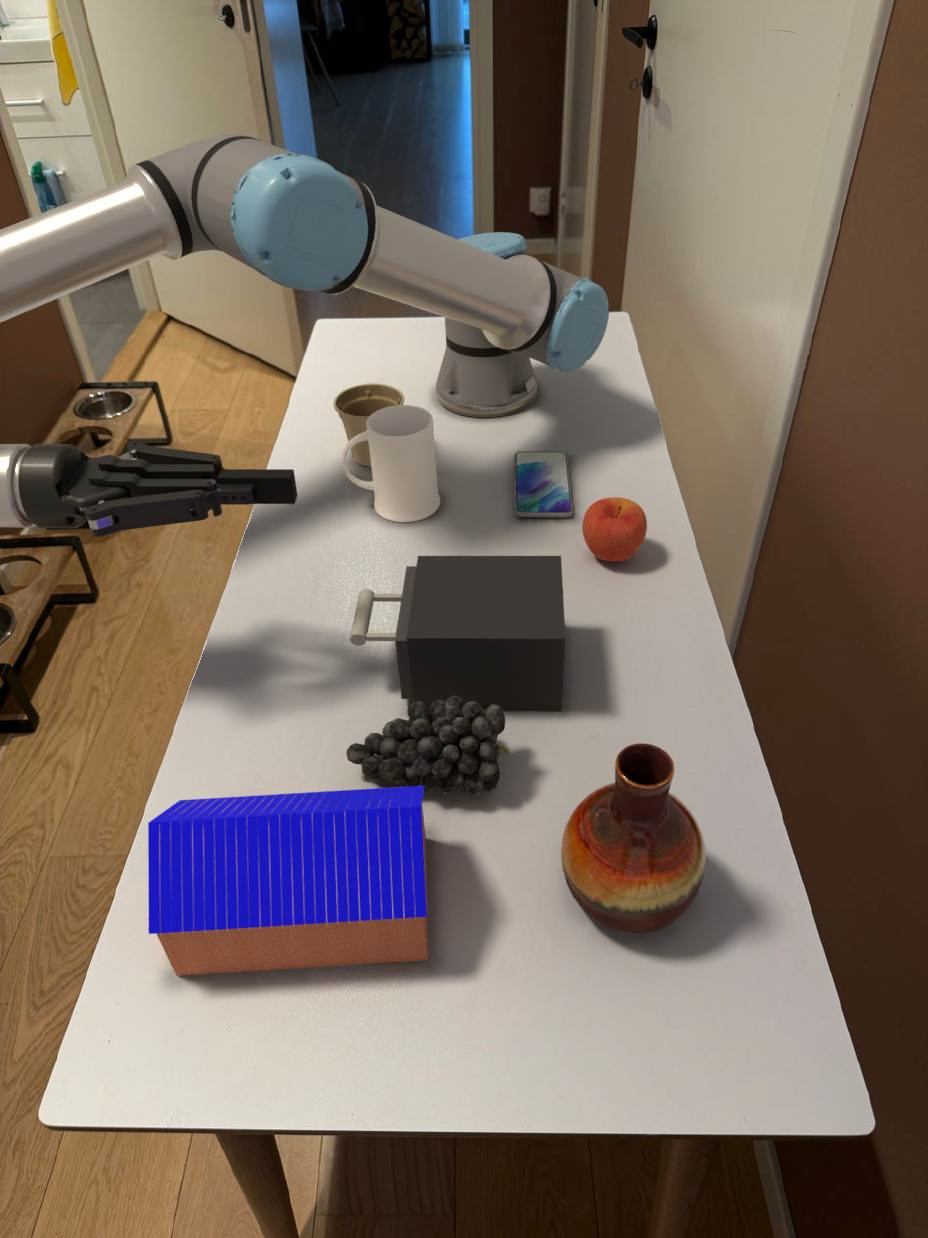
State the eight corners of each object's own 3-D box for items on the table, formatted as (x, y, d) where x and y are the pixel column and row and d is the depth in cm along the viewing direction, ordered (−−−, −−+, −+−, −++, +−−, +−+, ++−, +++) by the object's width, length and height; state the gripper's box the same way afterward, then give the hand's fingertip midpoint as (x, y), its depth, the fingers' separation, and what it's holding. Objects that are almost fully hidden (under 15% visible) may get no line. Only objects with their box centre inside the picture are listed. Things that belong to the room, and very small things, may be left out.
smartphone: (567, 450, 126) (573, 513, 114) (566, 456, 126) (572, 519, 115) (514, 450, 126) (514, 512, 115) (513, 456, 127) (514, 518, 115)
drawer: (353, 698, 92) (343, 640, 86) (367, 623, 100) (359, 566, 95) (538, 700, 90) (539, 641, 85) (537, 623, 99) (538, 566, 94)
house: (198, 848, 80) (164, 759, 72) (429, 834, 80) (420, 744, 72) (171, 980, 71) (129, 894, 63) (432, 964, 71) (422, 877, 63)
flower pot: (406, 473, 125) (400, 416, 119) (336, 474, 125) (328, 417, 119) (411, 438, 132) (406, 382, 126) (345, 439, 132) (338, 383, 126)
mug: (346, 525, 116) (333, 440, 108) (351, 487, 122) (340, 405, 115) (439, 521, 116) (434, 436, 108) (440, 484, 122) (435, 402, 114)
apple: (629, 533, 112) (635, 477, 107) (653, 568, 107) (660, 511, 102) (572, 543, 111) (575, 487, 106) (593, 579, 106) (597, 522, 101)
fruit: (331, 722, 78) (509, 723, 77) (350, 679, 86) (512, 679, 84) (340, 809, 81) (511, 811, 80) (357, 760, 89) (514, 761, 88)
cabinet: (413, 710, 91) (406, 637, 85) (423, 625, 101) (417, 555, 95) (561, 711, 90) (565, 638, 84) (558, 626, 100) (561, 555, 94)
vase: (602, 973, 70) (617, 852, 60) (536, 860, 78) (539, 736, 68) (725, 918, 73) (758, 794, 63) (649, 814, 81) (668, 689, 71)
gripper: (72, 484, 91) (310, 484, 90) (19, 562, 81) (287, 563, 80) (49, 415, 86) (300, 414, 85) (-10, 488, 76) (274, 489, 75)
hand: (293, 486), depth 83 cm, fingers closed
